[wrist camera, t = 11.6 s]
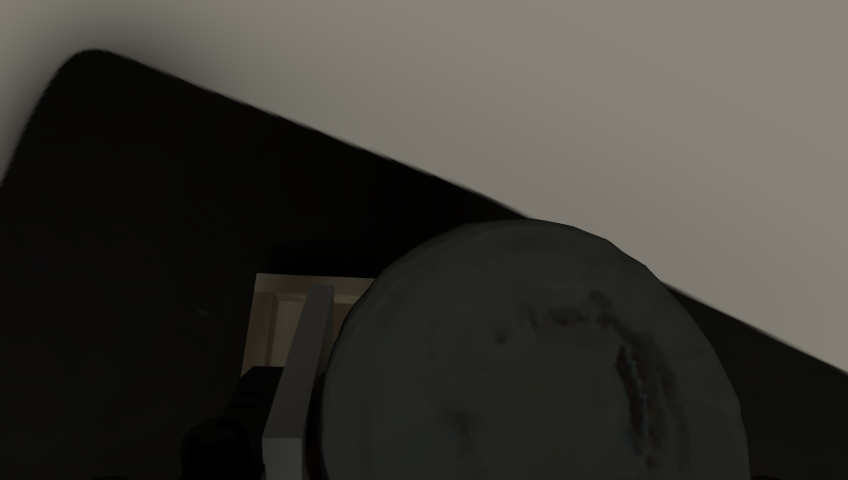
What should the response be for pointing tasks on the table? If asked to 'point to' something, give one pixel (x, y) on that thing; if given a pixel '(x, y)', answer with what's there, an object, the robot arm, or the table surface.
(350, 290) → the birch tray
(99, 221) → the table surface
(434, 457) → the sauce bottle
